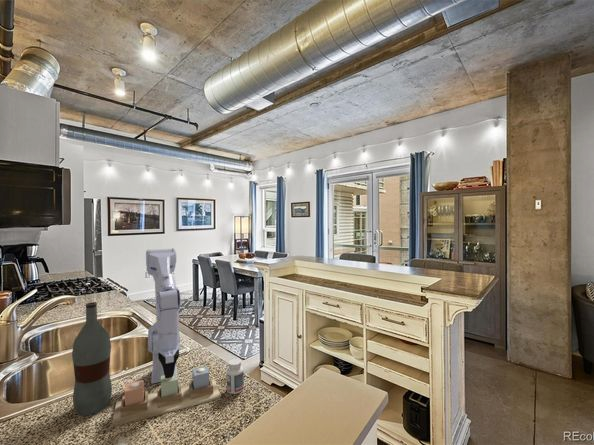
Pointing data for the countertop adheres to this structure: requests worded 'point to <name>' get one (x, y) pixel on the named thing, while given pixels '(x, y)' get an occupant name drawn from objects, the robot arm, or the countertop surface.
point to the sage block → (169, 385)
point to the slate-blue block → (200, 377)
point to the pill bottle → (235, 377)
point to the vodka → (91, 366)
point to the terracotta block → (134, 393)
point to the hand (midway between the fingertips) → (169, 376)
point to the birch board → (164, 402)
